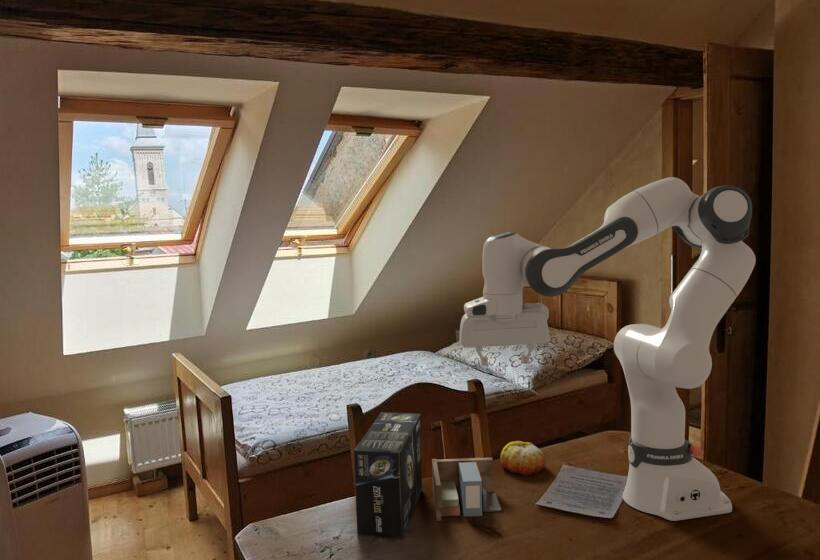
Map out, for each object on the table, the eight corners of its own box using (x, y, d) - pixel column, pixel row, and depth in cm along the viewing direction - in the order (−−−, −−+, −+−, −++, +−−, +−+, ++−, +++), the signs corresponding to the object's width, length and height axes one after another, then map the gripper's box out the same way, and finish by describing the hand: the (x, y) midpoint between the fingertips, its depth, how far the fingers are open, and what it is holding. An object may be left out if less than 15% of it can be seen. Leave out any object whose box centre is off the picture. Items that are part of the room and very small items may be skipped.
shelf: (491, 489, 153) (491, 456, 152) (501, 518, 139) (501, 482, 138) (432, 491, 153) (431, 459, 152) (436, 520, 139) (435, 485, 138)
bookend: (495, 494, 150) (495, 478, 150) (501, 511, 142) (501, 493, 142) (478, 495, 150) (478, 478, 150) (483, 511, 142) (483, 494, 142)
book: (476, 495, 150) (475, 462, 149) (482, 516, 140) (481, 481, 139) (459, 495, 150) (458, 462, 149) (463, 517, 140) (463, 482, 139)
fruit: (501, 476, 159) (499, 442, 160) (500, 471, 169) (499, 439, 171) (547, 476, 158) (545, 442, 159) (544, 471, 168) (543, 439, 169)
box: (403, 540, 131) (400, 450, 129) (356, 536, 133) (352, 448, 131) (423, 489, 154) (421, 412, 151) (382, 487, 156) (380, 410, 153)
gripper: (545, 300, 151) (546, 358, 152) (457, 304, 150) (459, 362, 152) (551, 304, 144) (553, 365, 146) (460, 309, 144) (462, 370, 146)
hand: (504, 364), depth 149 cm, fingers open, 8 cm apart
